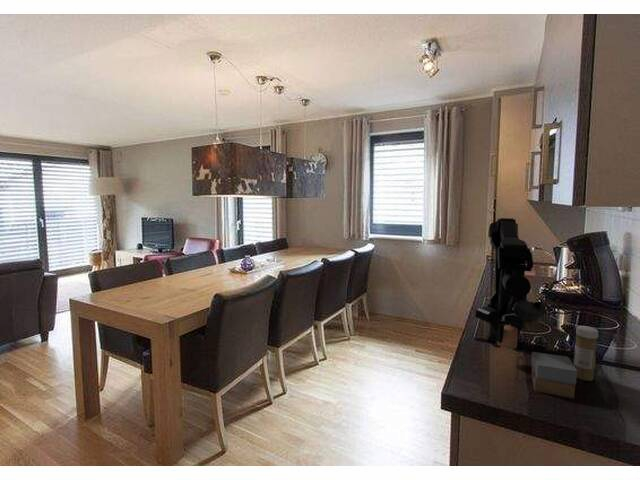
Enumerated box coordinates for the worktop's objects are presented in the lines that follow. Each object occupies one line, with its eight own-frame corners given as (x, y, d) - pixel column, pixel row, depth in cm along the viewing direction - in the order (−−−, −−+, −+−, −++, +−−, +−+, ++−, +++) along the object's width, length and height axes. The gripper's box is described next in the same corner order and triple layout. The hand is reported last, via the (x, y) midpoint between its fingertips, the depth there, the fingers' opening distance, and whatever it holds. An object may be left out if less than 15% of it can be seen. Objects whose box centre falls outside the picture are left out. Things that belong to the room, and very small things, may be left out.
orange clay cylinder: (497, 340, 104) (498, 323, 103) (516, 343, 102) (517, 326, 101) (496, 346, 99) (498, 329, 99) (517, 350, 97) (518, 332, 97)
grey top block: (531, 364, 94) (532, 351, 93) (566, 369, 91) (568, 356, 90) (536, 378, 86) (537, 364, 86) (575, 385, 83) (577, 371, 83)
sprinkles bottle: (596, 378, 92) (601, 329, 91) (588, 383, 90) (593, 333, 88) (576, 371, 96) (581, 323, 95) (568, 375, 94) (573, 327, 92)
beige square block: (531, 377, 94) (532, 364, 93) (567, 384, 90) (568, 371, 90) (534, 392, 87) (535, 378, 86) (573, 400, 83) (575, 386, 83)
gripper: (507, 298, 88) (503, 358, 90) (563, 292, 94) (558, 348, 96) (475, 287, 99) (472, 341, 101) (527, 283, 104) (523, 333, 106)
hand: (507, 341), depth 100 cm, fingers closed on orange clay cylinder, 5 cm apart
